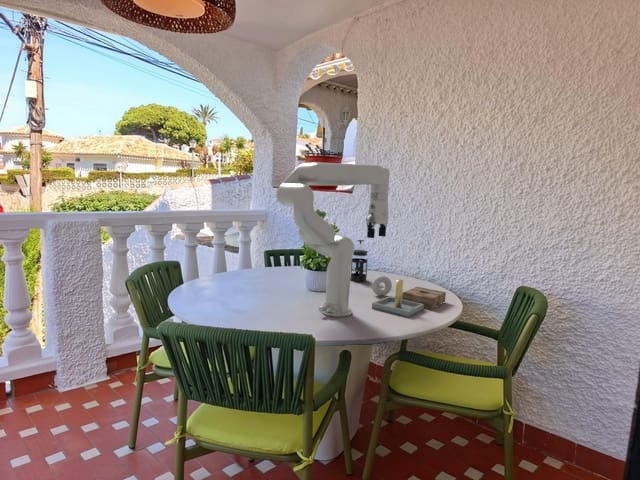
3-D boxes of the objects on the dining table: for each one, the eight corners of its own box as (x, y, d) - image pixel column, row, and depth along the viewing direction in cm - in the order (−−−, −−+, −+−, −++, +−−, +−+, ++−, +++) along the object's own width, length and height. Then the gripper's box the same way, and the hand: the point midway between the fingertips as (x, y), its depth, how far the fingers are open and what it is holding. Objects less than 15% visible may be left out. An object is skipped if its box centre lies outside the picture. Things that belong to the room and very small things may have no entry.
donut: (372, 296, 184) (373, 276, 183) (370, 294, 187) (371, 274, 186) (392, 296, 186) (393, 276, 184) (389, 294, 189) (391, 274, 188)
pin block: (431, 309, 167) (432, 298, 166) (401, 303, 175) (402, 292, 175) (444, 302, 179) (445, 292, 179) (416, 296, 188) (417, 286, 187)
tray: (408, 317, 155) (408, 311, 154) (371, 308, 165) (372, 302, 165) (423, 309, 166) (424, 304, 166) (388, 301, 177) (388, 296, 177)
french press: (348, 278, 222) (350, 238, 219) (364, 278, 223) (366, 239, 220) (352, 283, 210) (354, 241, 207) (369, 283, 211) (371, 241, 209)
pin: (399, 308, 164) (401, 281, 162) (393, 307, 165) (394, 279, 164) (402, 307, 166) (404, 280, 164) (396, 305, 168) (398, 278, 166)
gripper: (376, 197, 155) (373, 239, 157) (396, 197, 169) (393, 236, 171) (360, 196, 160) (358, 237, 162) (381, 197, 173) (378, 235, 175)
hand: (376, 237), depth 166 cm, fingers open, 9 cm apart
